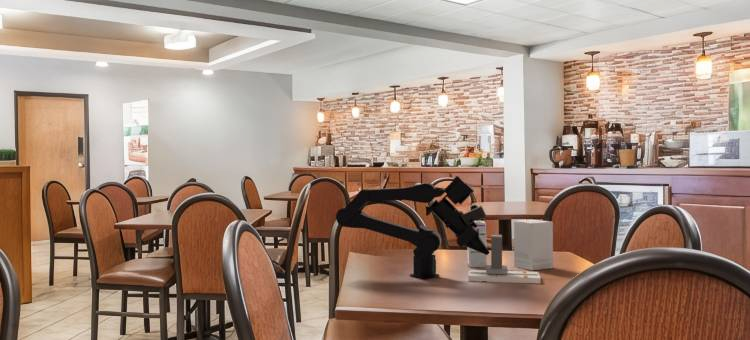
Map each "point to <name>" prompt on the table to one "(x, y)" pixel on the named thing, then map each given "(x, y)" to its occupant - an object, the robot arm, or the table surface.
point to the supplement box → (533, 244)
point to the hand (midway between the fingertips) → (488, 253)
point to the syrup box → (474, 256)
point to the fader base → (505, 276)
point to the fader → (496, 256)
